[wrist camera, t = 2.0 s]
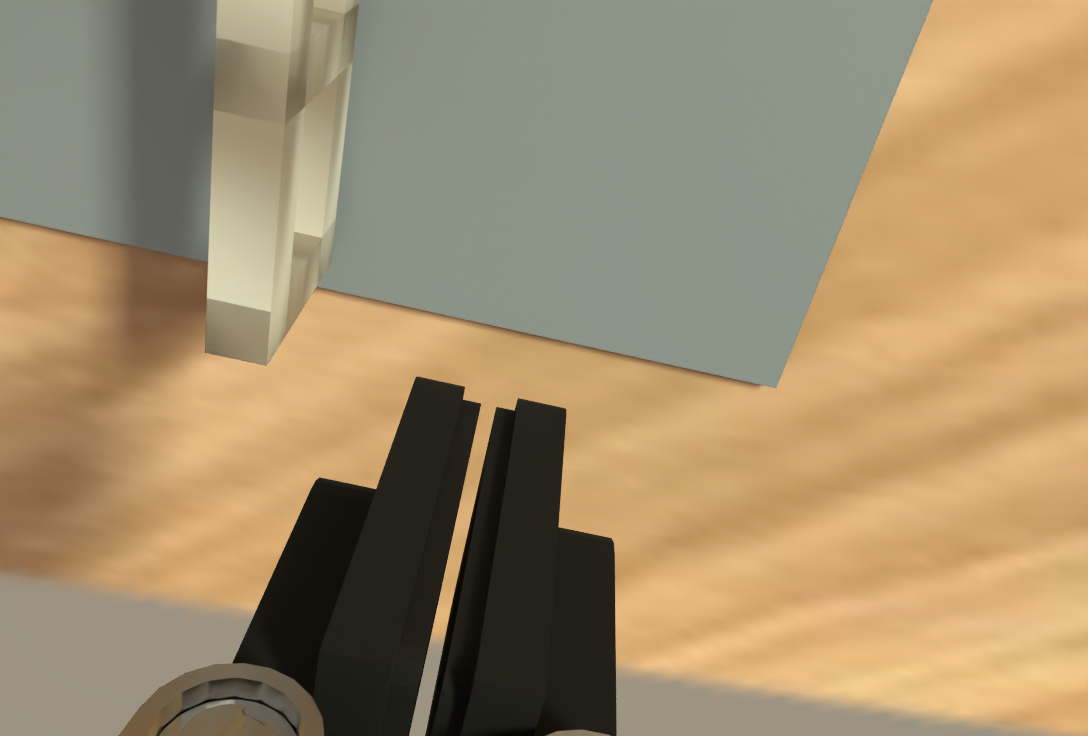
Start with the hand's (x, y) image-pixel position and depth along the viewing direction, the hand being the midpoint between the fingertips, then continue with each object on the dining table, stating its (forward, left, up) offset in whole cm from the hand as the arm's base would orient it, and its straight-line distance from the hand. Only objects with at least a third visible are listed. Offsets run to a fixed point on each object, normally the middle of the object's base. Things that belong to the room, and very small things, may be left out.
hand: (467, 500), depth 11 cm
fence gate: (-2, -5, -12) cm, 13 cm away
